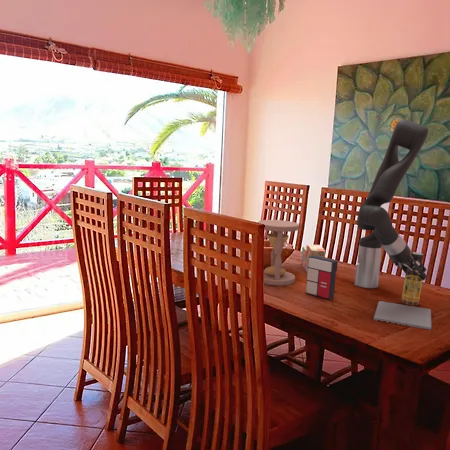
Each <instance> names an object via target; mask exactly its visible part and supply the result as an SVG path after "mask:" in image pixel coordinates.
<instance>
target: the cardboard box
mask: <svg viewBox="0 0 450 450" xmlns="http://www.w3.org/2000/svg"><path fill="white" fill-rule="evenodd" d="M301 248H302V249H301V255H302V256H301V265H302V267H303V269H304V270H305V271H306V272H307V271H308V258H309V256H313V255H315V256H320V257H324V258H326V250H325V248H323V246H321V245H320V244H306V246H302V247H301Z"/></svg>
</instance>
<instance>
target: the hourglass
mask: <svg viewBox="0 0 450 450" xmlns="http://www.w3.org/2000/svg"><path fill="white" fill-rule="evenodd" d="M258 223H262V224H264V225H265V230H264V231H269V233H267V234H266V238H267V239H268V241H269V243H270V245H271V246H272V247H271V248H272V250H271V252H270V266H267V267H265V269H263V270H264V285H267V286H268V285H269V286H278V287H280V286H281V287H282V286H283V287H284V286H289V285H293V284H295V282H296V275H294V273H291V272H289V271H286V269H285V268H284V267H282V265H283V261H282V256H281V255H282V252H283V250H284V244H285V243H286V242H287V240H288V239H289V237H290V236H289V234H285V233H287V232H289V233H290V232H291V233H292V232H297V231H299V228H300V224H299V223H297V222H294V221H289V220H280V219H264V220H263V219H262V220H258V221H257V224H258ZM270 232H271V233H270Z"/></svg>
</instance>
